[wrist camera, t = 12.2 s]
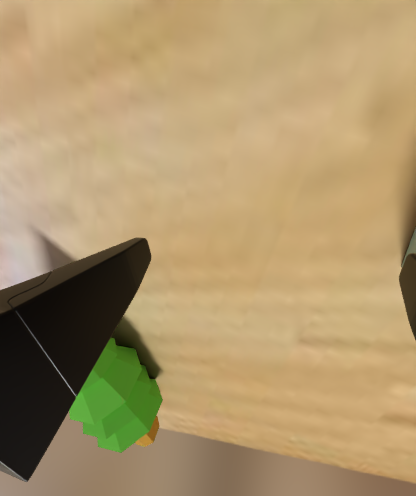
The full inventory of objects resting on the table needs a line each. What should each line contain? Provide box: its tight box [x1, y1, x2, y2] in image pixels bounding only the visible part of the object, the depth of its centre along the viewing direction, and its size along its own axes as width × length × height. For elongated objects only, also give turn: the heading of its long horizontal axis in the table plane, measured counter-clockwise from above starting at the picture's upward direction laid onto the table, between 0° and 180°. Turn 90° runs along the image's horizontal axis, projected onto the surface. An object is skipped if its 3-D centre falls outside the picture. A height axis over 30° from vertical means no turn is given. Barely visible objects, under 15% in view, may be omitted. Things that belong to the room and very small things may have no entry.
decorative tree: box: [69, 338, 163, 453], centre depth 35 cm, size 11×12×30 cm
